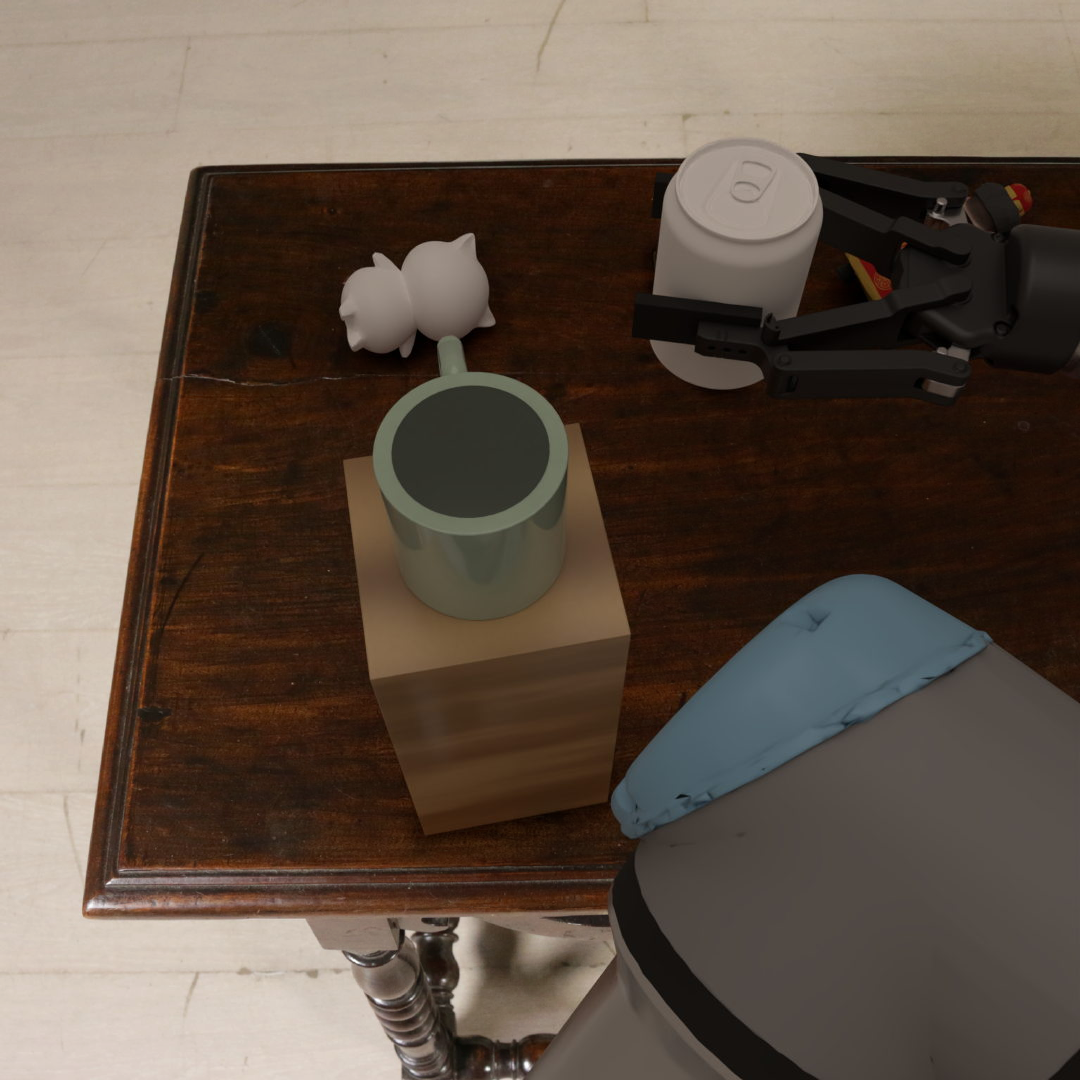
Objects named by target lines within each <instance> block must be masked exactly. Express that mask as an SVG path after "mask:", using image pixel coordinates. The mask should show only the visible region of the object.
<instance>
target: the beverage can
mask: <svg viewBox="0 0 1080 1080" xmlns="http://www.w3.org/2000/svg"><path fill="white" fill-rule="evenodd" d="M796 153H797V152H795V151H793V150H791V149H789V148H788V147H786V146H784V145H782V144H780V143H777V142H774V141H771V140H767V139H763V138H758V137H752V136H751V137H750V136H733V137H732V136H731V137H725V138H720V139H716V140H712V141H710V142H707V143H705V144H703V145H701V146H699V147H697V148H696V149H695V150H693V151H692V152H691V153H690V154H689V155H688V156H687V157H686V158H685V159H684V160H683V161H682V163H681V164H680V166H679V168H678V170H677V171H676V172H675V173H674V174H675V175H674V176H673V178H672V179H671V181H670V183H669V185H668V187H667V189H666V192H665V195H664V200H663V209H662V217H661V219H660V227H659V234H658V235H659V236H658V240H659V243H658V242H657V243H658V252H657V261H656V270H655V269H654V280H653V287H652V294H654V295H662V296H671V297H679V298H687V299H695V300H703V301H711V302H719V303H726V304H735V305H744V306H752V307H760V308H763V312H762V321H761V325H760V327H763V324H764V320H765V317H766V316H767V315H768V314H770V313H773V316H772V317H775V319H776V321H778V320H783V319H788V318H792V317H797V315H798V311H799V307H800V304H801V300H802V297H803V294H804V290H805V286H806V282H807V279H808V276H809V272H810V268H811V266H812V265H811V264H812V262H813V258H814V254H815V251H816V247H817V245H818V244H817V243H818V241H819V240H818V237H819V233H820V229H821V226H822V220H823V207H822V201H821V198H820V195H819V188H818V183H817V180H816V177H815V175H814V173H813V171H812V170H811V168H810V167H809V165H808V164H807V163H806V162H805V161H804V160H803V159H802V158H801V157H800V156H798V155H797V154H796ZM649 342H650V345H651V348H652V351H653V353H654V355H655V356H656V358H657V359H658V360H659V362H660V363H661V364H662V365H663V367H665V368H666V369H667V371H669V372H670V373H671V374H673V375H675V376H676V378H679V379H681V380H683V381H684V382H687V383H689V384H692V385H694V386H698V387H701V388H706V389H711V390H735V389H740V388H744V387H748V386H751V385H754V384H756V383H758V382H761V381H762V380H765V379H764V377H763V374H762V371H761V369H760V368H759V367H758V366H757V365H756V364H754V363H751V362H746V361H738V360H730V359H723V358H715V357H707V356H702V355H700V354H698V353H696V352H694V349H695V345H688V344H680V343H672V342H664V341H657V340H649Z"/></svg>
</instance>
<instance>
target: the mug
mask: <svg viewBox="0 0 1080 1080" xmlns="http://www.w3.org/2000/svg"><path fill="white" fill-rule="evenodd" d="M436 352H437V360H438V361H437V362H438V367H439V376H440V377H435V378H433V379H431V380H428V381H426V382H423V383H422V384H420V385H418V386H416V387H415V388H413V389H411V390H410V391H408V392H407V393H406V394H405V395H403V396H402V397H401V398H399V400H398V401H397V402H396V403H395V404H393V405H392V407H391V408H390V409H389V410H388V412H387V413H386V415H385V417H383V420H382V421H381V423H380V424H379V427H378V430H377V432H376V434H375V438H374V441H373V446H372V455H373V468H374V473H375V477H376V481H377V485H378V489H379V493H380V498H381V502H382V506H383V510H384V514H385V518H386V522H387V526H388V530H389V534H390V538H391V542H392V546H393V550H394V555H395V559H396V563H397V567H398V569H399V572H400V574H401V576H402V578H403V580H404V582H405V584H406V585H407V586H408V588H409V589H410V590H411V592H412V593H413V594H414V595H415V596H416V597H417V598H418V599H419V600H421V601H422V602H423V603H425V604H426V605H428V606H429V607H431V608H433V609H434V610H436V611H438V612H440V613H443V614H446V615H448V616H452V617H455V618H459V619H466V620H490V619H497V618H501V617H506V616H508V615H511V614H514V613H517V612H519V611H521V610H523V609H525V608H527V607H528V606H530V605H531V604H533V603H534V602H536V601H537V600H538V599H539V598H540V597H542V596H543V595H544V594H545V593H546V592H547V591H548V589H549V588H550V587H551V586H552V585H553V583H554V582H555V580H556V579H557V577H558V575H559V573H560V571H561V569H562V566H563V563H564V560H565V556H566V549H567V512H568V468H569V445H568V438H567V434H566V431H565V428H564V425H565V424H564V423H563V421H562V419H561V417H560V414H558V412H557V411H556V409H555V408H554V406H552V404H551V403H550V401H548V400H547V399H546V398H545V397H544V396H543V395H542V394H540V393H539V392H538V391H537V390H535V389H534V388H532V387H530V386H529V385H528V384H526V383H523V382H521V381H519V380H517V379H514V378H511V377H508V376H505V375H502V374H498V373H497V374H496V373H493V372H483V371H468V365H467V361H466V354H465V350H464V345H463V343H462V341H461V339H458V338H457V337H455V336H452V335H448V336H445V337H443V338H441V339H440V341H437V344H436Z"/></svg>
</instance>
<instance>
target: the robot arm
mask: <svg viewBox="0 0 1080 1080" xmlns="http://www.w3.org/2000/svg"><path fill="white" fill-rule="evenodd" d="M795 153H796V154H797V155H798V156H800V157H801V158H802V159H803V160H804V161H805V162H806V163H807V164H808V165H809V167H810V168H811V170H812V171H813V173H814V175H815V177H816V180H817V183H818V188H819V195H820V198H821V201H822V207H823V220H822V226H821V229H820V233H819V237H818V240H817V241H819V242H822V243H824V244H826V245H829V246H831V247H833V248H835V249H837V250H839V251H841V252H844V253H848V254H850V255H853V256H855V257H857V258H859V259H861V260H864V261H866V262H868V263H870V264H872V265H873V266H874V267H875V270H876V272H877V273H878V274H879V275H881V276H883V277H885V278H887V279H890V280H891V287H892V290H893V291H891V292H890V293H888V294H887V295H886V296H885V297H884V298H882V299H878V300H874V301H869V300H868V301H865V302H860V303H854V304H851V305H846V306H841V307H836V308H832V309H831V308H830V309H826V310H822V311H817V312H812V313H807V314H803V315H798V316H797V315H796V317H792V318H788V319H783V320H778V321H776V319H775V317H772V316H773V313H770V314H768V315H767V316H766V317H765V320H764V324H763V327H760V325H761V321H762V312H763V308H760V307H752V306H744V305H735V304H726V303H719V302H711V301H703V300H695V299H687V298H679V297H671V296H662V295H654V294H653V293H645V292H635V293H636V294H635V299H634V308H633V317H632V325H631V326H632V327H631V338H634V339H641V340H649V341H650V340H657V341H664V342H672V343H680V344H688V345H695V349H694V352H696V353H698V354H700V355H702V356H707V357H715V358H723V359H730V360H738V361H746V362H751V363H754V364H756V365H757V366H758V367H759V368H760V369H761V371H762V374H763V377H764V379H763V380H764V382H765V386H764V392H765V394H766V395H767V397H768V398H771V399H774V400H822V399H824V400H826V399H827V400H830V399H834V400H835V399H898V398H899V399H900V398H901V399H902V398H903V399H904V398H905V399H906V398H907V399H908V398H911V399H916V400H919V401H923V402H926V403H930V404H934V405H938V406H942V407H948V408H949V407H953V406H954V405H956V404H957V402H958V400H959V398H960V396H961V394H962V392H963V390H964V389H965V386H966V384H967V383H968V380H969V378H970V376H971V375H972V372H973V366H972V365H971V363H970V362H971V361H974V360H978V359H979V360H980V359H982V360H983V361H984V363H985V364H987V365H988V366H989V367H991V368H994V369H1000V370H1006V371H1007V370H1008V371H1016V372H1024V373H1029V374H1030V373H1031V374H1039V375H1046V376H1048V375H1049V376H1051V375H1053V374H1055V373H1056V372H1059V371H1060V370H1061V371H1062V373H1063V374H1064V376H1065V377H1067V378H1069V379H1074V380H1080V229H1073V228H1064V227H1055V226H1048V225H1047V226H1046V225H1039V224H1038V225H1037V224H1030V223H1022V224H1021V223H1020V224H1019V225H1018V226H1016V227H1014V228H1012V229H1010V230H1008V231H1005V232H1002V233H991V232H988V231H985V230H983V229H980V228H979V227H977V226H975V225H972V224H969V223H968V222H967V218H966V214H965V210H964V203H965V201H966V198H967V196H968V197H969V193H970V189H969V186H967V185H966V184H965V183H963V182H960V181H923V180H920V179H919V180H918V179H915V178H910V177H906V176H902V175H898V174H894V173H890V172H887V171H886V172H885V171H882V170H881V171H880V170H877V169H873V168H868V167H864V166H861V165H855V164H852V163H848V162H843V161H839V160H835V159H831V158H826V157H823V156H819V155H815V154H811V153H806V152H795ZM675 174H676V173H669V172H660V171H656V173H655V178H654V185H653V195H652V204H651V214H650V218H651V219H658V220H661V217H662V209H663V200H664V195H665V192H666V189H667V187H668V185H669V183H670V181H671V179H672V178H673V176H674V175H675ZM903 242H905V243H907V245H906V246H905V247H904V248H903V249H901V246H902V243H903ZM899 251H900V252H899ZM917 344H925V345H926V346H928V347H929V348H930V349H932V350H933V351H931V350H925V349H899V348H904V347H908V346H914V345H917ZM877 347H879V348H881V349H873V348H877ZM610 809H611V811H612V814H613V816H614V818H615V819H616V820H617V821H618V823H619V824H620V831H621V833H622V834H623V835H625V836H626V837H628V838H629V839H630V840H637V839H638V840H639V842H638V845H637V846H636V847H635V849H634V850H633V851H632V853H631V854H630V856H629V857H628V858H627V860H626V862H625V863H624V864H623V865H622V866H621V868H620V869H619V871H618V873H616V875H615V877H614V878H613V880H612V882H611V885H610V887H609V890H608V893H607V896H606V899H607V900H606V902H607V903H606V904H607V906H606V907H607V908H606V909H607V910H606V911H607V916H608V921H609V925H610V929H611V933H612V934H611V935H612V940H613V944H614V948H615V953H616V954H615V955H614V957H613V958H612V959H611V961H610V962H609V963H608V965H607V966H606V967H605V969H604V970H603V971H602V973H601V974H600V976H599V977H598V978H597V980H596V981H595V982H594V983H593V985H592V986H591V987H590V989H589V990H588V992H587V993H586V994H585V996H584V997H583V998H582V1000H580V1002H579V1004H578V1005H576V1008H575V1009H574V1011H573V1012H572V1013H571V1015H569V1017H568V1018H567V1020H566V1021H565V1023H564V1024H563V1025H562V1027H560V1029H559V1030H558V1031H557V1033H556V1034H555V1036H554V1037H553V1039H552V1040H551V1041H550V1043H549V1044H548V1045H547V1046H546V1048H545V1049H544V1050H543V1052H542V1053H541V1055H540V1056H539V1057H538V1058H537V1060H536V1061H535V1063H534V1064H533V1066H532V1067H531V1068H530V1070H529V1071H528V1072H527V1073H526V1075H525V1076H524V1078H523V1079H522V1080H1080V703H1079V702H1078V701H1077V700H1075V698H1072V697H1071V696H1070V695H1068V694H1067V693H1066V692H1064V691H1063V690H1061V689H1060V688H1059V687H1057V686H1055V685H1054V684H1053V683H1052V682H1050V681H1049V680H1048V679H1046V678H1044V677H1043V676H1042V675H1040V674H1039V673H1038V672H1037V671H1035V670H1033V669H1032V668H1030V667H1029V666H1028V665H1027V664H1025V663H1024V662H1022V661H1021V660H1020V659H1018V658H1016V657H1015V656H1014V655H1012V654H1011V653H1009V651H1006V649H1004V648H1003V647H1001V646H1000V645H998V644H997V643H995V642H994V639H993V638H992V637H991V636H990V635H989V634H988V633H987V632H986V631H983V630H979V629H978V630H977V629H976V628H974V627H972V626H970V625H969V624H966V623H965V622H963V621H961V620H960V619H958V618H956V617H955V616H953V615H952V614H950V613H948V612H947V611H945V610H943V609H942V608H939V607H938V606H936V605H934V604H933V603H931V602H930V601H927V600H926V599H924V598H922V597H921V596H919V595H917V594H916V593H914V592H913V591H911V590H909V589H907V588H906V587H903V586H902V585H900V584H899V583H897V582H895V581H893V580H891V579H889V578H886V577H883V576H880V575H876V574H867V573H857V574H855V573H854V574H848V575H847V574H846V575H843V576H840V577H837V578H834V579H832V580H829V581H827V582H825V583H823V584H821V585H819V586H817V587H815V588H814V589H813V590H811V591H810V592H808V593H807V594H805V595H804V596H802V597H801V598H800V599H798V600H797V601H796V602H794V603H793V604H792V605H791V606H789V607H788V608H787V609H785V610H784V611H783V612H782V613H780V614H779V615H778V616H777V617H775V619H773V620H772V621H771V622H770V623H769V624H768V625H766V626H765V627H764V628H763V629H762V630H761V631H760V632H758V633H757V634H756V635H755V636H754V637H753V638H752V639H751V640H749V641H748V642H747V643H746V644H745V645H743V646H742V647H741V649H739V650H738V651H737V652H736V653H735V654H734V655H733V656H732V657H731V658H730V659H728V661H727V662H726V663H725V664H724V665H722V667H721V668H720V669H719V670H717V672H716V673H715V674H714V675H712V676H711V678H710V679H708V680H707V682H705V683H704V684H703V685H702V686H701V687H700V688H699V689H697V691H696V692H695V693H694V694H693V695H692V696H691V697H690V698H689V699H688V700H687V701H686V703H685V704H684V705H683V706H682V707H681V708H680V709H679V710H678V711H677V712H676V713H675V714H674V715H673V716H672V717H671V718H669V720H668V721H667V722H666V724H665V725H664V726H663V727H662V728H661V729H660V730H659V731H658V733H657V734H656V735H655V736H654V737H653V738H652V739H651V741H649V743H648V744H647V745H646V747H644V749H643V750H642V751H641V752H640V753H639V754H638V756H637V757H636V758H635V760H634V761H633V762H632V763H631V765H630V766H629V768H628V769H627V771H626V773H625V776H624V777H623V778H622V780H621V781H620V782H619V784H618V785H617V786H616V787H615V789H614V791H613V792H612V795H611V797H610Z"/></svg>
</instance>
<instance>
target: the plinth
mask: <svg viewBox="0 0 1080 1080" xmlns="http://www.w3.org/2000/svg"><path fill="white" fill-rule="evenodd" d="M563 425H564V428H565V431H566V434H567V438H568V445H569V468H568V512H567V549H566V556H565V560H564V563H563V566H562V569H561V571H560V573H559V575H558V577H557V579H556V580H555V582H554V583H553V585H552V586H551V587H550V588H549V589H548V591H547V592H546V593H545V594H544V595H543V596H542V597H540V598H539V599H538V600H537V601H536V602H534V603H533V604H531V605H530V606H528V607H527V608H525V609H523V610H521V611H519V612H517V613H514V614H511V615H508V616H506V617H501V618H497V619H490V620H466V619H459V618H455V617H452V616H448V615H446V614H443V613H440V612H438V611H436V610H434V609H433V608H431V607H429V606H428V605H426V604H425V603H423V602H422V601H421V600H419V599H418V598H417V597H416V596H415V595H414V594H413V593H412V592H411V590H410V589H409V588H408V586H407V585H406V584H405V582H404V580H403V578H402V576H401V574H400V572H399V569H398V567H397V563H396V559H395V555H394V550H393V546H392V542H391V538H390V534H389V530H388V526H387V522H386V518H385V514H384V510H383V506H382V502H381V498H380V493H379V489H378V485H377V481H376V477H375V473H374V468H373V454H372V455H367V456H360V457H359V456H358V457H354V458H353V457H352V458H346V459H343V461H342V463H343V472H344V480H345V489H346V496H347V504H348V505H347V506H348V513H349V523H350V528H351V529H350V530H351V537H352V546H353V553H354V563H355V570H356V571H355V572H356V578H357V585H358V596H359V602H360V603H359V604H360V611H361V621H362V627H363V636H364V644H365V651H366V660H367V668H368V676H369V681H370V684H371V687H372V690H373V693H374V695H375V699H376V701H377V704H378V706H379V710H380V712H381V715H382V718H383V721H384V724H385V727H386V730H387V732H388V735H389V738H390V741H391V744H392V747H393V749H394V752H395V754H396V758H397V761H398V763H399V764H398V765H399V766H400V769H401V772H402V775H403V777H404V781H405V783H406V786H407V789H408V792H409V795H410V798H411V800H412V804H413V806H414V809H415V812H416V814H417V818H418V820H419V823H420V827H421V829H422V832H423V835H424V836H427V837H428V836H430V835H436V834H442V833H443V834H444V833H447V832H454V831H458V830H464V829H470V828H475V827H479V826H486V825H492V824H496V823H501V822H507V821H513V820H518V819H523V818H528V817H534V816H539V815H545V814H551V813H557V812H561V811H567V810H572V809H577V808H582V807H588V806H593V805H599V804H603V803H604V804H605V803H608V800H609V793H610V786H611V780H612V772H613V765H614V757H615V751H616V744H617V736H618V729H619V722H620V715H621V708H622V700H623V694H624V687H625V681H626V673H627V666H628V659H629V652H630V651H629V650H630V644H631V638H632V631H631V627H630V625H629V624H630V623H629V619H628V615H627V612H626V607H625V603H624V599H623V596H622V591H621V586H620V584H619V579H618V575H617V570H616V566H615V562H614V558H613V555H612V551H611V547H610V542H609V538H608V534H607V530H606V526H605V521H604V518H603V514H602V511H601V505H600V502H599V501H600V500H599V498H598V493H597V489H596V486H595V482H594V476H593V473H592V470H591V465H590V462H589V457H588V453H587V449H586V444H585V441H584V437H583V433H582V429H581V425H580V423H579V422H576V423H569V424H563Z"/></svg>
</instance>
